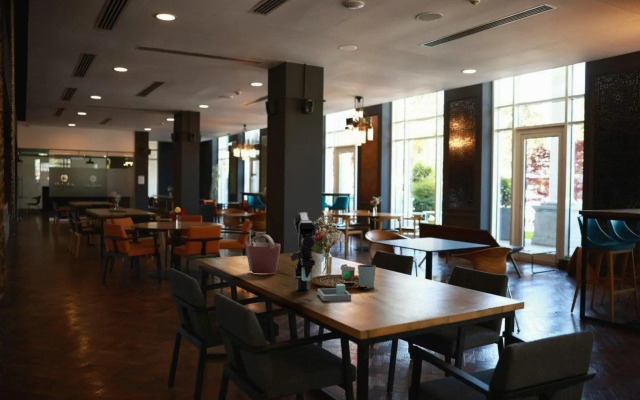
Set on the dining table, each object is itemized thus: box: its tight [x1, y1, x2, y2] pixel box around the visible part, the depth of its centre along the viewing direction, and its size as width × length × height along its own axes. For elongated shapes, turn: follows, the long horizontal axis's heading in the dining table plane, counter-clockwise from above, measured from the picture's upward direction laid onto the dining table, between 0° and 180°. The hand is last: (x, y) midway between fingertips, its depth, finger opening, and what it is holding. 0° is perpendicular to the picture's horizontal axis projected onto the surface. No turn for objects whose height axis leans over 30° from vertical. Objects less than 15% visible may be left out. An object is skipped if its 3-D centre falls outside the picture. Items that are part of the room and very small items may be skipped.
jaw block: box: [302, 267, 312, 282], centre depth 259 cm, size 4×4×6 cm
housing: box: [317, 283, 352, 302], centre depth 260 cm, size 17×14×6 cm
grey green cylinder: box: [357, 264, 377, 289], centre depth 288 cm, size 10×10×12 cm
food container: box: [340, 263, 356, 282], centre depth 299 cm, size 12×6×10 cm, turn 21°
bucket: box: [245, 234, 281, 273], centre depth 331 cm, size 24×22×25 cm
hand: (306, 276), depth 259 cm, fingers closed on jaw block, 4 cm apart
